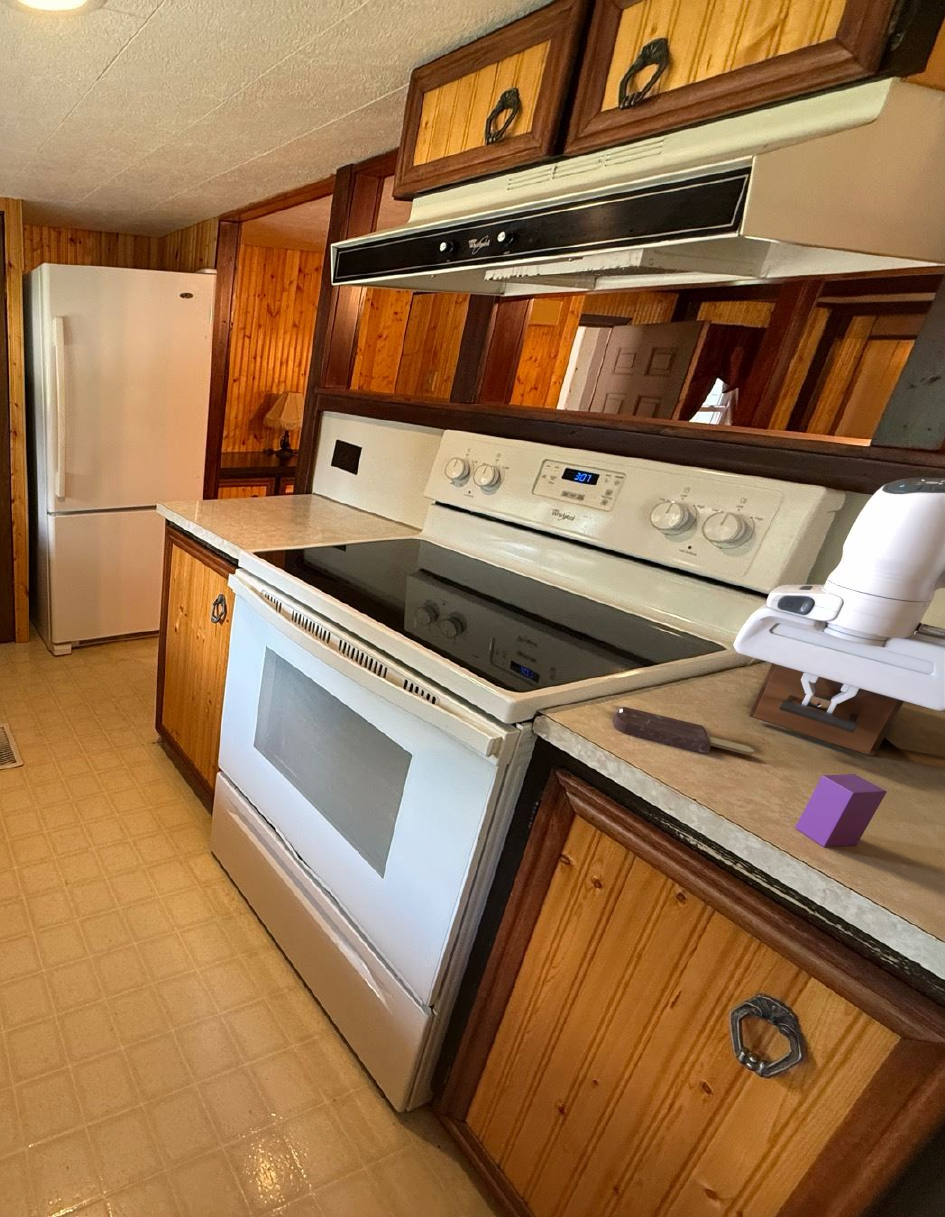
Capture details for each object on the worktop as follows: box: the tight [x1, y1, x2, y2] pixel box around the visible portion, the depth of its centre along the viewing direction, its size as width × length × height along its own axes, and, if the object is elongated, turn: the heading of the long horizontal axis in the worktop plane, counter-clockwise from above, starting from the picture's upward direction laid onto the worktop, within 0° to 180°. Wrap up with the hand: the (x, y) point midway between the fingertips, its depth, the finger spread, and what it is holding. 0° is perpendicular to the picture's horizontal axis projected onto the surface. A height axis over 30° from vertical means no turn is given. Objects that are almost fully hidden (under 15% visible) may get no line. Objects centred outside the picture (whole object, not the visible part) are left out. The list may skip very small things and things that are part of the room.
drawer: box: [752, 665, 898, 756], centre depth 89 cm, size 19×11×9 cm, turn 129°
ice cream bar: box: [612, 706, 755, 756], centre depth 87 cm, size 5×2×15 cm
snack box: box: [794, 773, 888, 848], centre depth 69 cm, size 4×3×7 cm
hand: (816, 708), depth 85 cm, fingers closed
